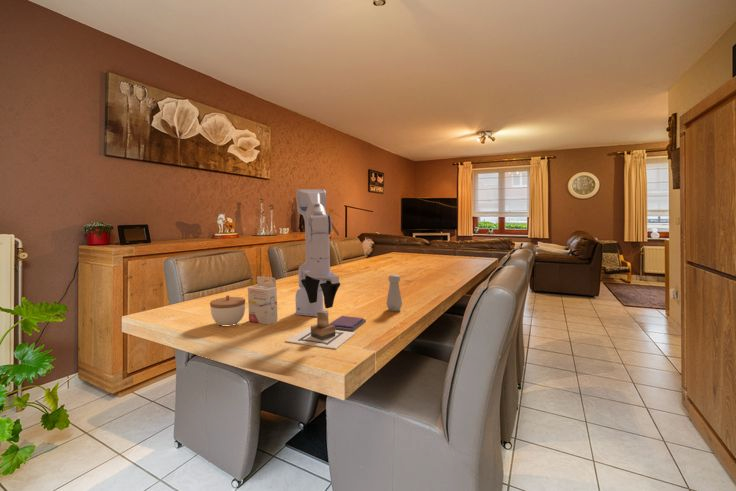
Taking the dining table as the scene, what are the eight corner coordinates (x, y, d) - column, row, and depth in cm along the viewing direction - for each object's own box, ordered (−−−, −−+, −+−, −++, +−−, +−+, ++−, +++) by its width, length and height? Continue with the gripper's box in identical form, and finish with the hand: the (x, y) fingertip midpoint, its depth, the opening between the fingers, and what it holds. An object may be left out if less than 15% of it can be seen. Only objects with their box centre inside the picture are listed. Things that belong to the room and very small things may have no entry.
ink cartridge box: (248, 321, 117) (246, 278, 116) (258, 317, 121) (256, 275, 120) (268, 325, 113) (266, 280, 112) (278, 320, 118) (276, 277, 116)
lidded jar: (252, 319, 119) (251, 292, 118) (233, 330, 109) (232, 300, 108) (224, 318, 122) (223, 291, 121) (203, 327, 111) (202, 298, 110)
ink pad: (327, 328, 110) (326, 323, 110) (341, 319, 119) (341, 315, 119) (353, 331, 106) (353, 326, 106) (365, 321, 116) (365, 317, 115)
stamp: (310, 336, 102) (310, 312, 101) (324, 331, 105) (324, 309, 105) (321, 340, 98) (321, 315, 98) (335, 335, 102) (334, 312, 101)
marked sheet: (284, 341, 98) (284, 340, 98) (309, 327, 110) (309, 326, 110) (336, 349, 92) (336, 347, 92) (355, 333, 104) (355, 332, 104)
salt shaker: (401, 312, 126) (401, 276, 125) (385, 311, 127) (385, 276, 126) (402, 308, 132) (402, 273, 131) (387, 307, 133) (387, 273, 132)
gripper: (347, 258, 97) (347, 306, 98) (316, 254, 107) (317, 298, 108) (326, 261, 92) (327, 312, 93) (296, 256, 102) (297, 302, 104)
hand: (320, 305), depth 100 cm, fingers open, 7 cm apart
